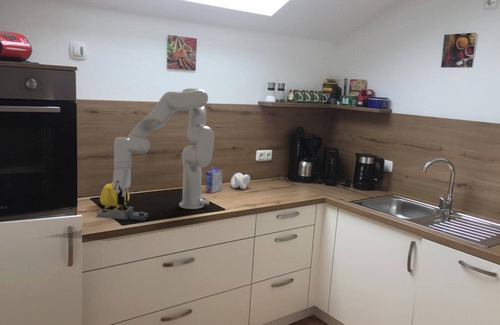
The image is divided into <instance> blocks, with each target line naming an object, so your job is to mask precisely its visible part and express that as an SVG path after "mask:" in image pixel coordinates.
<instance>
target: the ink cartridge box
mask: <svg viewBox="0 0 500 325" xmlns="http://www.w3.org/2000/svg"><path fill="white" fill-rule="evenodd" d="M222 190H223V170H222V169H221V170H220V169H216V167H215V166H211V167H210V170H209V171H205V192H206V193H210V194H213V193H217V192H220V191H222Z"/></svg>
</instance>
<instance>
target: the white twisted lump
mask: <svg viewBox="0 0 500 325" xmlns="http://www.w3.org/2000/svg"><path fill="white" fill-rule="evenodd" d="M250 181H251V177H250V175H249V174H244V175H243V173H241V172H237V173H234V174H233V176H231V179H230V185H231V187H232V188H233V189H238V188H240V189H241V190H244V191H245V190H246V189H247V186H248V184H249V183H250Z"/></svg>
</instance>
